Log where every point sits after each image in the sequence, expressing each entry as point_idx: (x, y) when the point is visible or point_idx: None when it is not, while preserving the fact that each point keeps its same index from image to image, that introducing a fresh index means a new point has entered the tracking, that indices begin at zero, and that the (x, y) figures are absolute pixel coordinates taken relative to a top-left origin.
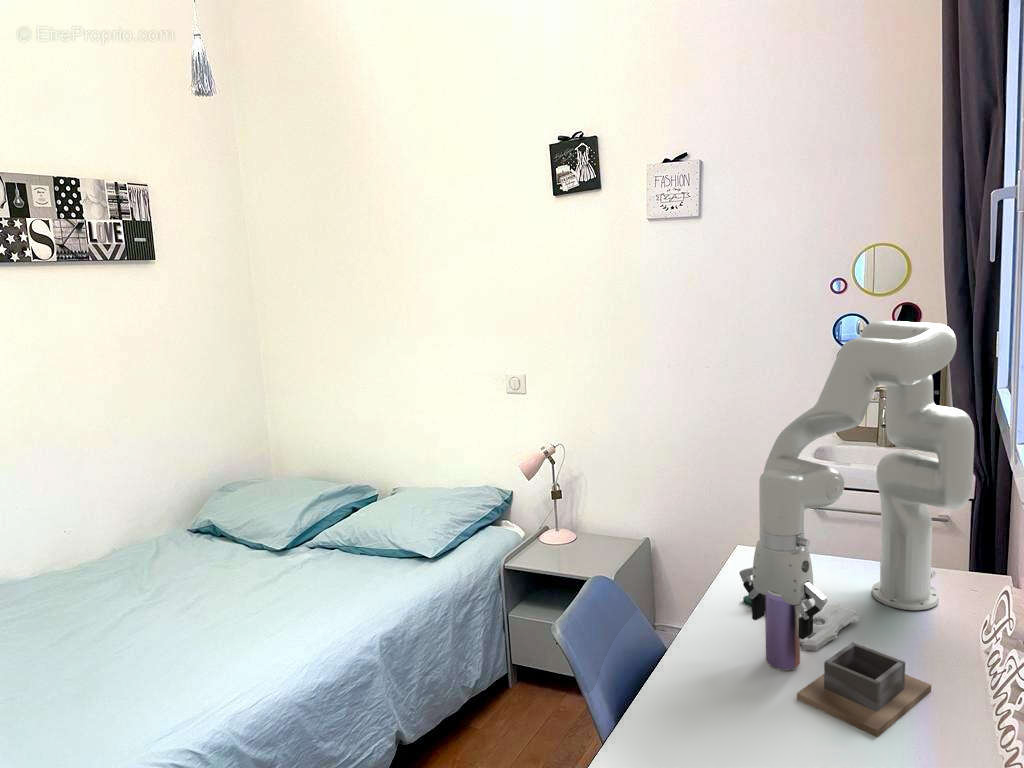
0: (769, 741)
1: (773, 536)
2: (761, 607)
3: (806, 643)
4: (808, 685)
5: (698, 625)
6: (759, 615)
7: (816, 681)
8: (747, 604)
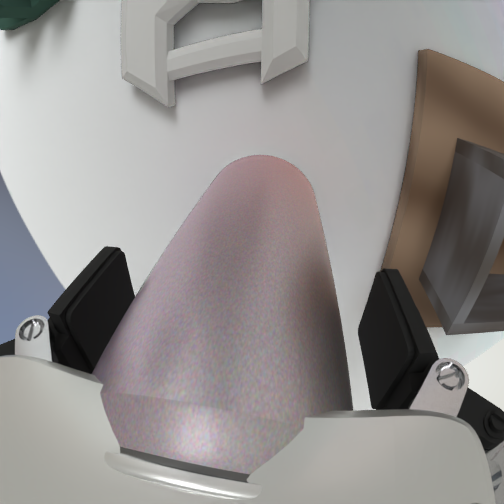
0: (358, 401)
1: None
2: (105, 308)
3: (272, 72)
4: None
5: (18, 195)
6: (126, 296)
7: (396, 265)
8: (16, 27)
